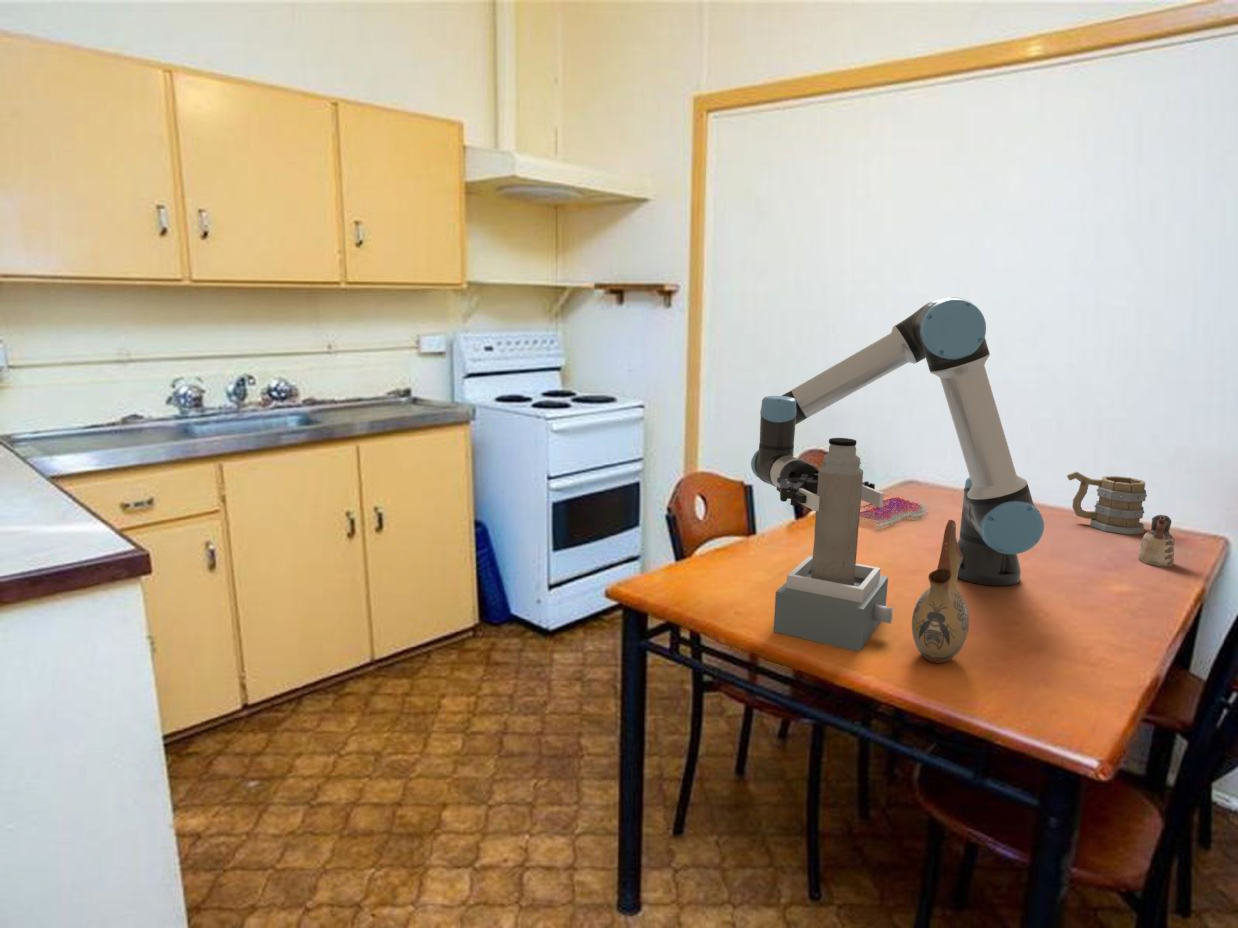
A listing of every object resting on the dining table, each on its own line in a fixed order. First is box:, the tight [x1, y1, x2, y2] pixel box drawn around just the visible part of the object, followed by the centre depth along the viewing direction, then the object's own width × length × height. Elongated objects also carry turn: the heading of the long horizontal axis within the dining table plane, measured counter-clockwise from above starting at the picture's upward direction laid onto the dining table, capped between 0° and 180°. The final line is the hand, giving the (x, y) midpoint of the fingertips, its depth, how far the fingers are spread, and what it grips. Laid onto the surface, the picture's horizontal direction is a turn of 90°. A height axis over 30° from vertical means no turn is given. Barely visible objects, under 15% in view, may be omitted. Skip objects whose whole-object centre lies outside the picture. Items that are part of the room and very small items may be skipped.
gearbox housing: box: [773, 555, 894, 653], centre depth 149 cm, size 19×20×10 cm
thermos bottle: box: [811, 437, 864, 586], centre depth 146 cm, size 8×8×28 cm
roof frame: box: [859, 496, 930, 531], centre depth 227 cm, size 30×15×5 cm, turn 129°
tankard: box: [1066, 471, 1148, 536], centre depth 220 cm, size 20×13×15 cm, turn 58°
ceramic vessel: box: [911, 519, 970, 664], centre depth 134 cm, size 16×9×25 cm, turn 148°
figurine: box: [1138, 514, 1175, 568], centre depth 189 cm, size 7×7×12 cm
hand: (849, 502), depth 142 cm, fingers open, 12 cm apart
